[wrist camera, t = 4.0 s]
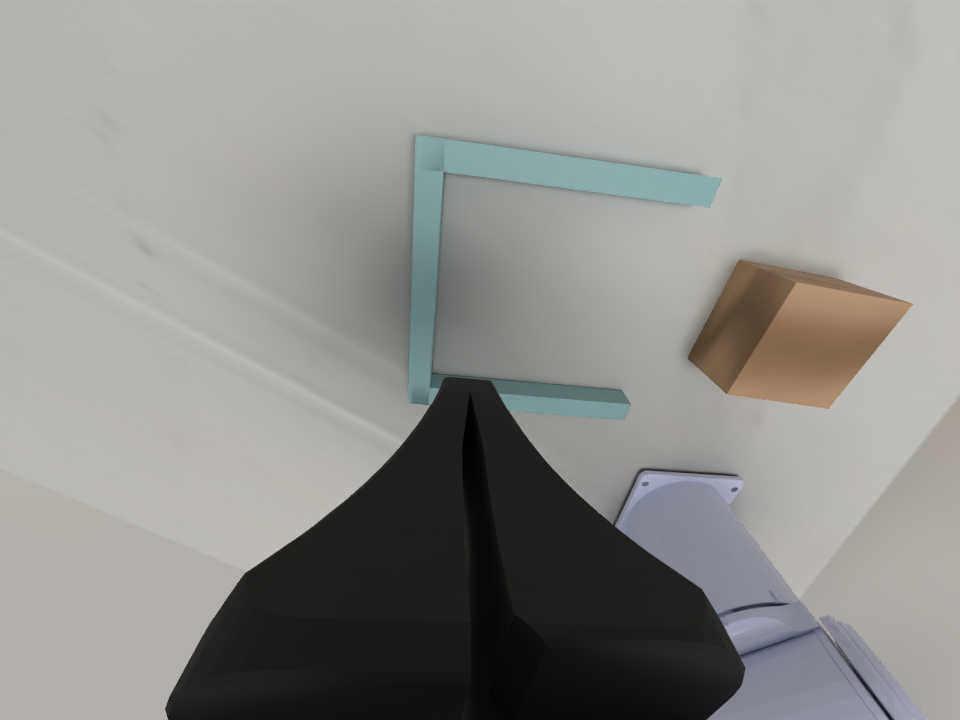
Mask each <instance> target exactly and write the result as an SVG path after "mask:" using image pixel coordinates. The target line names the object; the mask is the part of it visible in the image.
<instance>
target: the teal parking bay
mask: <svg viewBox="0 0 960 720" xmlns="http://www.w3.org/2000/svg"><path fill="white" fill-rule="evenodd" d="M445 172H448V173H455V174H463V175H470V176H478V177H485V178H493V179H500V180H507V181H515V182H522V183H530V184H537V185H545V186H552V187H559V188H567V189H574V190H582V191H589V192H596V193H604V194H611V195H619V196H626V197H634V198H641V199H648V200H656V201H663V202H671V203H678V204H686V205H693V206H700V207H708V208H710V207H711V204H712V202H713V199H714V197H715V194H716V192H717V190H718V187H719V185H720V182H721V180H722V178H717V177H710V176H703V175H696V174H689V173H682V172H675V171H668V170H661V169H654V168H647V167H640V166H633V165H626V164H619V163H612V162H605V161H598V160H591V159H584V158H577V157H570V156H563V155H556V154H549V153H542V152H535V151H528V150H521V149H514V148H507V147H500V146H493V145H486V144H479V143H472V142H465V141H458V140H451V139H444V138H437V137H430V136H423V135H416V138H415V172H414V206H413V241H412V275H411V310H410V344H409V379H408V403H413V404H426V405H431V404H432V402H433V400H434V399H435V397H436V395H437V393H438V391H439V389H440V386H441V384H442V380H443V379H444V378H446V377H457V378H469V379H480V380H490V381H491V382H492V383H493V384H494V386H495V388H496V390H497V392H498V394H499V395H500V397H501V399H502V401H503V402H504V404H505V406H506V407H507V409H508V411H514V412H527V413H540V414H552V415H565V416H578V417H590V418H603V419H616V420H625V418H626V415H627V413H628V411H629V408H630V406H631V404H630V402H629V401H628V399H627V398H626V396H625V395H624V393H623V392H622V390H612V389H601V388H589V387H578V386H566V385H555V384H543V383H531V382H520V381H508V380H497V379H485V378H474V377H462V376H450V375H439V374H432V363H433V348H434V333H435V318H436V302H437V287H438V272H439V257H440V242H441V226H442V211H443V196H444V181H445Z"/></svg>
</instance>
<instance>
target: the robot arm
mask: <svg viewBox="0 0 960 720" xmlns="http://www.w3.org/2000/svg"><path fill="white" fill-rule="evenodd" d="M743 485H744V481H743V480H742V479H741V478H740V477H736V476H721V475H706V474H691V473H676V472H661V471H643V472H641V473H640V474H639V476H638V478H637V480H636V482H635V485H634V487H633V489H632V491H631V493H630V495H629V497H628V499H627V501H626V504H625V506H624V508H623V510H622V512H621V514H620V516H619V518H618V521H617V523H616V525H615V526H614V525H613V524H611V523H610V522H609V521H608V520H607V519H605V518H604V517H603V516H602V515H601V514H599V513H598V512H597V511H596V510H595V509H594V508H593V507H591V506H590V505H589V504H588V503H587V502H586V501H585V500H584V499H583V498H582V497H580V496H579V495H578V494H577V493H576V492H575V491H574V490H573V489H572V488H571V487H570V486H569V485H568V484H567V483H566V482H565V481H564V480H563V479H562V478H561V477H560V476H559V475H558V474H557V473H556V472H555V471H554V470H553V469H552V468H551V467H550V465H549V464H548V463H547V462H546V461H545V460H544V458H543V457H542V456H541V455H540V454H539V452H538V451H537V450H536V449H535V447H534V446H533V445H532V443H531V442H530V441H529V440H528V438H527V437H526V436H525V434H524V433H523V431H522V430H521V428H520V427H519V426H518V424H517V423H516V421H515V420H514V418H513V417H512V415H511V414H510V412H509V411H508V409H507V407H506V406H505V404H504V402H503V401H502V399H501V397H500V395H499V394H498V392H497V390H496V388H495V386H494V384H493V383H492V382H491V381H490V380H480V379H469V378H457V377H446V378H444V379H443V380H442V384H441V386H440V389H439V391H438V393H437V395H436V397H435V399H434V400H433V402H432V404H431V405H430V407H429V409H428V410H427V412H426V413H425V415H424V416H423V418H422V419H421V421H420V422H419V424H418V425H417V426H416V427H415V429H414V430H413V431H412V433H411V434H410V435H409V437H408V438H407V439H406V440H405V442H404V443H403V444H402V445H401V446H400V448H399V449H398V450H397V451H396V452H395V453H394V454H393V456H392V457H391V458H390V459H389V460H388V461H387V462H386V463H385V464H384V465H383V466H382V467H381V468H380V469H379V470H378V471H377V472H376V473H375V474H374V475H373V476H372V477H371V478H370V479H369V480H368V481H367V482H366V483H365V484H363V485H362V486H361V487H360V488H359V489H358V490H357V491H356V492H355V493H354V494H352V495H351V496H350V497H349V498H348V499H347V500H345V501H344V502H343V503H342V504H340V505H339V506H338V507H337V508H335V509H334V510H333V511H332V512H330V513H329V514H328V515H327V516H325V517H324V518H323V519H322V520H320V521H319V522H318V523H317V524H315V525H314V526H313V527H311V528H310V529H309V530H307V531H306V532H305V533H303V534H302V535H301V536H299V537H298V538H296V539H295V540H293V541H292V542H290V543H289V544H287V545H286V546H285V547H283V548H282V549H280V550H279V551H277V552H276V553H274V554H273V555H271V556H270V557H269V558H267V559H266V560H264V561H263V562H261V563H260V564H258V565H257V566H255V567H254V568H252V569H251V570H249V571H248V572H246V573H245V574H244V575H243V577H242V578H241V579H240V581H239V582H238V583H237V585H236V586H235V588H234V589H233V591H232V592H231V594H230V595H229V596H228V598H227V599H226V601H225V602H224V604H223V605H222V607H221V608H220V610H219V611H218V613H217V614H216V616H215V617H214V618H213V620H212V621H211V623H210V624H209V626H208V628H207V630H206V631H205V633H204V635H203V636H202V638H201V640H200V642H199V644H198V645H197V647H196V649H195V651H194V653H193V655H192V656H191V658H190V660H189V662H188V664H187V666H186V667H185V669H184V671H183V673H182V675H181V677H180V679H179V680H178V682H177V684H176V686H175V688H174V690H173V691H172V693H171V695H170V697H169V700H168V703H167V706H166V708H165V710H166V713H167V717H168V720H928V719H927V718H926V716H925V715H924V714H923V713H922V712H921V710H920V709H919V708H918V707H917V705H916V704H915V703H914V702H913V700H912V699H911V698H910V697H909V695H908V694H907V693H906V692H905V690H904V689H903V688H902V687H901V686H900V685H899V683H898V682H897V681H896V679H895V678H894V677H893V676H892V675H891V673H890V672H889V671H888V670H887V668H886V667H885V666H884V665H883V663H882V662H881V661H880V660H879V659H878V657H877V656H876V655H875V654H874V652H873V651H872V650H871V649H870V648H869V647H868V645H867V644H866V643H865V642H864V641H863V639H862V638H861V637H860V636H859V635H858V633H857V632H856V631H855V630H854V629H853V628H852V626H850V625H849V624H846V623H844V622H842V621H839V620H838V621H836V620H835V619H834V618H833V617H832V616H829V615H827V616H824V617H821V618H819V619H820V621H821V622H822V624H823V625H824V626H825V628H826V629H827V631H828V632H829V633H830V634H831V636H832V637H833V639H834V640H835V643H836V644H837V646H838V647H839V648H838V647H837V646H836V644H835V643H834V642H833V640H832V639H831V638H830V636H829V635H828V634H827V632H826V631H825V630H824V628H823V627H822V626H821V625H820V624H819V622H818V621H817V620H816V619H815V618H814V616H813V615H812V614H811V613H810V612H809V610H808V609H807V608H806V607H805V605H804V604H803V603H802V602H801V601H800V600H799V599H798V597H797V596H796V595H795V593H794V592H793V591H792V589H791V588H790V587H789V585H788V584H787V583H786V581H785V580H784V579H783V577H782V576H781V575H780V573H779V572H778V571H777V569H776V568H775V567H774V565H773V564H772V562H771V561H770V560H769V558H768V557H767V556H766V554H765V553H764V552H763V550H762V549H761V548H760V546H759V545H758V544H757V542H756V541H755V540H754V538H753V537H752V536H751V534H750V533H749V532H748V530H747V529H746V528H745V526H744V525H743V524H742V522H741V521H740V520H739V518H738V517H737V516H736V514H735V513H734V512H733V510H732V509H731V508H730V506H729V505H730V504H731V503H732V501H733V500H734V498H735V497H736V495H737V494H738V492H739V491H740V489H741V488H742V486H743ZM839 649H840V650H841V651H842V652H841V651H840V650H839ZM842 653H843V654H844V655H845V656H844V655H843V654H842ZM845 657H846V658H847V659H846V658H845ZM848 661H849V662H850V663H849V662H848ZM851 665H852V666H853V667H852V666H851Z"/></svg>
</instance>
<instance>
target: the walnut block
mask: <svg viewBox="0 0 960 720" xmlns="http://www.w3.org/2000/svg"><path fill="white" fill-rule="evenodd" d="M912 305H913V304H911V303H908V302H905V301H902V300H899V299H896V298H893V297H890V296H887V295H884V294H881V293H878V292H875V291H872V290H869V289H866V288H863V287H860V286H857V285H854V284H851V283H848V282H845V281H843V280H840V279H835V278H830V277H825V276H820V275H814V274H809V273H804V272H799V271H794V270H788V269H783V268H778V267H773V266H768V265H762V264H757V263H752V262H747V261H742V260H739V262H738V264H737V266H736V268H735V269H734V271H733V273H732V275H731V277H730V279H729V281H728V283H727V284H726V286H725V288H724V290H723V292H722V294H721V296H720V298H719V300H718V301H717V303H716V305H715V307H714V309H713V311H712V313H711V315H710V317H709V318H708V320H707V322H706V324H705V326H704V328H703V330H702V332H701V334H700V335H699V337H698V339H697V341H696V343H695V345H694V347H693V349H692V351H691V352H690V354H689V356H688V359H689V360H690V361H691V362H692V363H694V364H695V365H696V366H697V367H698V368H699V369H700V370H701V371H702V372H703V373H704V374H706V375H707V376H708V377H709V378H710V379H711V380H712V381H713V382H714V383H715V384H716V385H717V386H719V387H720V388H721V389H722V390H723V391H724V392H725V393H726V394H729V395H736V396H743V397H750V398H757V399H764V400H771V401H778V402H785V403H792V404H799V405H806V406H813V407H820V408H827V409H828V408H829V407H830V406H831V405H832V404H833V402H834V401H835V400H836V399H837V397H838V396H839V395H840V394H841V392H842V391H843V390H844V389H845V387H846V386H847V385H848V384H849V383H850V381H851V380H852V379H853V378H854V376H855V375H856V374H857V373H858V371H859V370H860V369H861V368H862V366H863V365H864V364H865V363H866V362H867V360H868V359H869V358H870V357H871V355H872V354H873V353H874V352H875V350H876V349H877V348H878V347H879V345H880V344H881V343H882V342H883V341H884V339H885V338H886V337H887V336H888V334H889V333H890V332H891V331H892V329H893V328H894V327H895V326H896V324H897V323H898V322H899V321H900V320H901V318H902V317H903V316H904V315H905V313H906V312H907V311H908V310H909V308H910V307H911V306H912Z"/></svg>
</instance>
